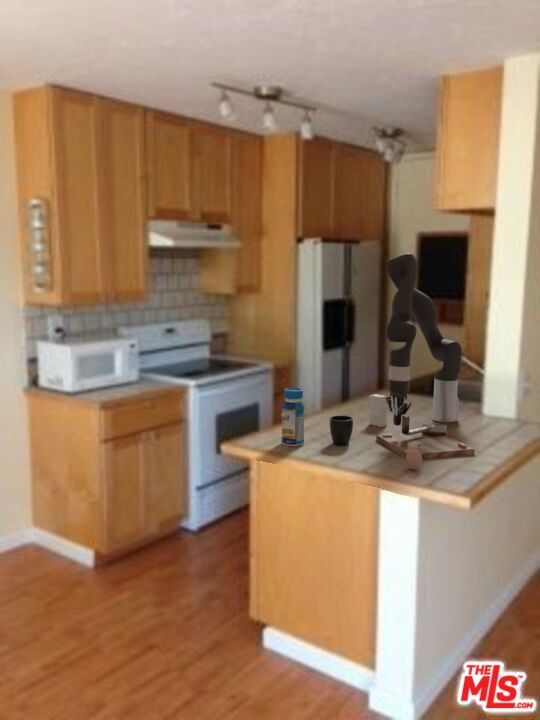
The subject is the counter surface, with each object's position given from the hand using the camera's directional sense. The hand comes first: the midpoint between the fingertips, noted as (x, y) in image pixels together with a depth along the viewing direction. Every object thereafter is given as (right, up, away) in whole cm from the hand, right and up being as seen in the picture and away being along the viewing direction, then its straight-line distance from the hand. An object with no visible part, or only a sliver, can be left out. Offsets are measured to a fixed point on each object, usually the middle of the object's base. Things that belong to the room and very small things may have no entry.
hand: (397, 424), depth 243 cm
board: (+9, -8, -4) cm, 12 cm away
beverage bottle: (-38, -7, -1) cm, 38 cm away
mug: (-20, -7, +2) cm, 21 cm away
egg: (0, -12, -29) cm, 31 cm away
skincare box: (-3, -3, +26) cm, 26 cm away
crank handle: (+10, -4, +3) cm, 11 cm away
